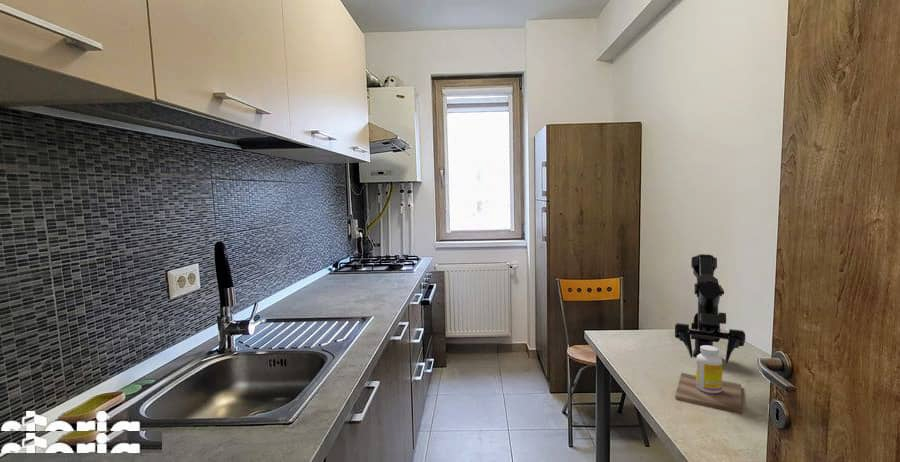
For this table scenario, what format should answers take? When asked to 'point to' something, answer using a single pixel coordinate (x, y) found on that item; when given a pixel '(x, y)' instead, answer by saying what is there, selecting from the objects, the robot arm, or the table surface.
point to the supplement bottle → (709, 370)
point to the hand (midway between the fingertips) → (708, 359)
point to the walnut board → (710, 394)
